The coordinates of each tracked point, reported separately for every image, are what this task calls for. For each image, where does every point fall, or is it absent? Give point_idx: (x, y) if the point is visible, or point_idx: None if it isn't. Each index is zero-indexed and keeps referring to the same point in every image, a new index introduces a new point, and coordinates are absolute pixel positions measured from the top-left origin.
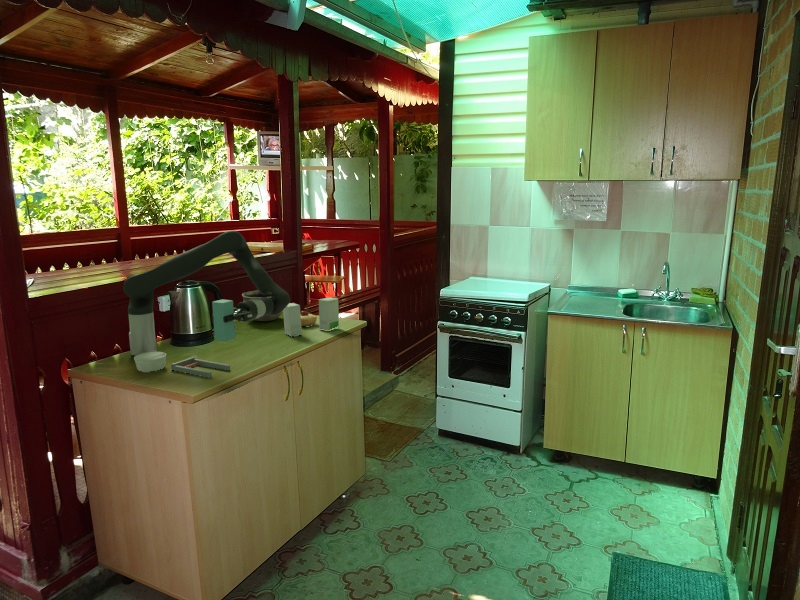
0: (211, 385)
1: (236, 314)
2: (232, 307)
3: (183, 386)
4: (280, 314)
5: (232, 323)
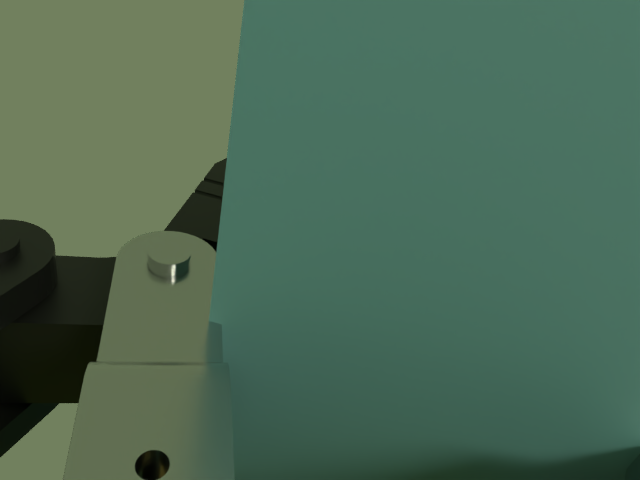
0: None
1: (105, 327)
2: (247, 110)
3: None
4: None
5: None
